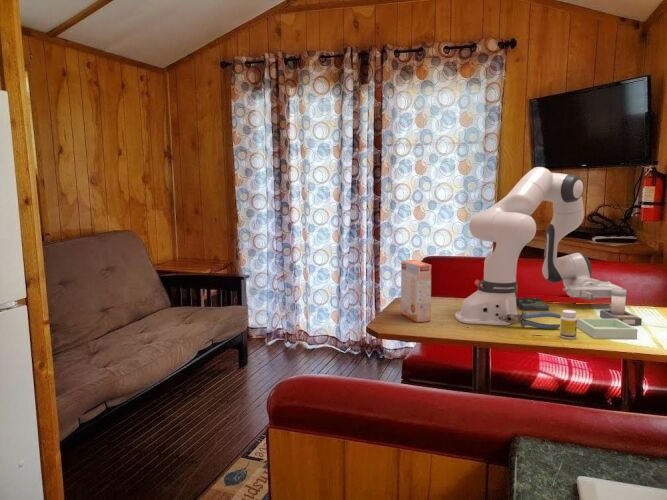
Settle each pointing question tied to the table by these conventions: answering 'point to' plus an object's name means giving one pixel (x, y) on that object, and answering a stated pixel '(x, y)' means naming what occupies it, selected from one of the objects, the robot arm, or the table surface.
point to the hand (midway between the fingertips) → (603, 295)
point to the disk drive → (531, 304)
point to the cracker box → (416, 290)
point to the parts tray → (606, 328)
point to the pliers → (521, 320)
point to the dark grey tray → (622, 317)
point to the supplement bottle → (568, 324)
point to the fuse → (618, 301)
